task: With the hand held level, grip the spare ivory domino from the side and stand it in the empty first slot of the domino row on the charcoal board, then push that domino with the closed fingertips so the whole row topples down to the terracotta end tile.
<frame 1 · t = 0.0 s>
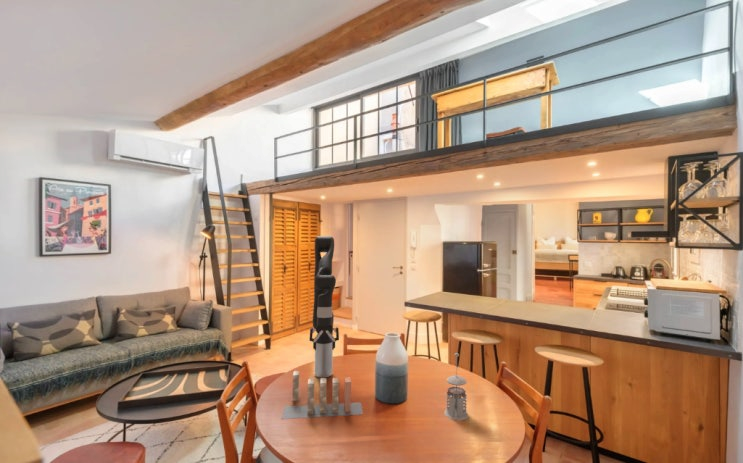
hand: (324, 349, 168), 17 cm above the table, tool pointing down, fingers open, 8 cm apart
end domino: (347, 408, 142), point 1 cm above the table, touching domino board
domino 4: (335, 409, 141), point 1 cm above the table, touching domino board
domino board: (322, 412, 141), on the table
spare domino: (295, 400, 151), on the table
domino 3: (323, 410, 141), point 1 cm above the table, touching domino board
domino 2: (310, 410, 140), point 1 cm above the table, touching domino board
french press: (456, 415, 140), on the table
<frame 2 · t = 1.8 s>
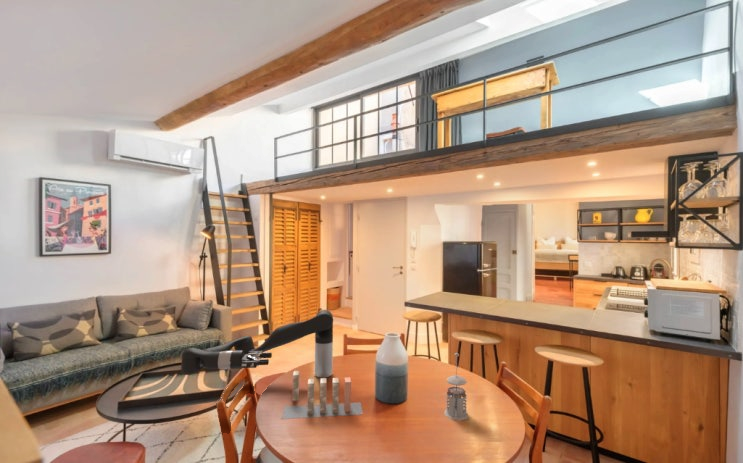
hand: (270, 358, 150), 19 cm above the table, tool horizontal, fingers open, 8 cm apart
nothing on the table moved.
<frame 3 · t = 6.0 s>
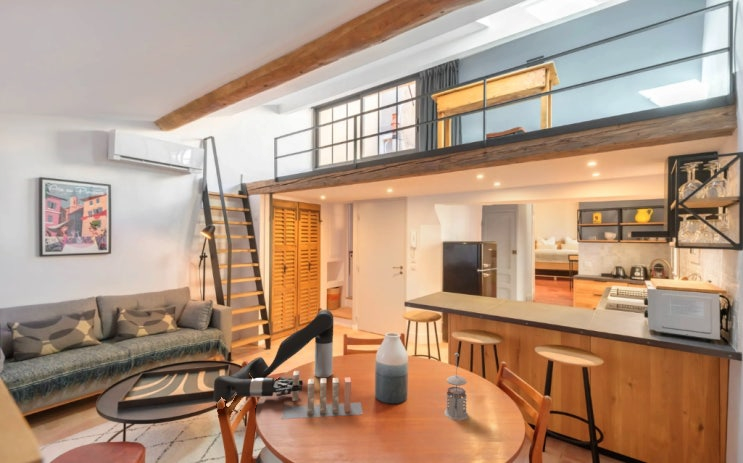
hand: (301, 385, 152), 7 cm above the table, tool horizontal, fingers closed on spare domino, 4 cm apart
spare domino: (295, 400, 151), on the table, touching gripper
everything else where it was.
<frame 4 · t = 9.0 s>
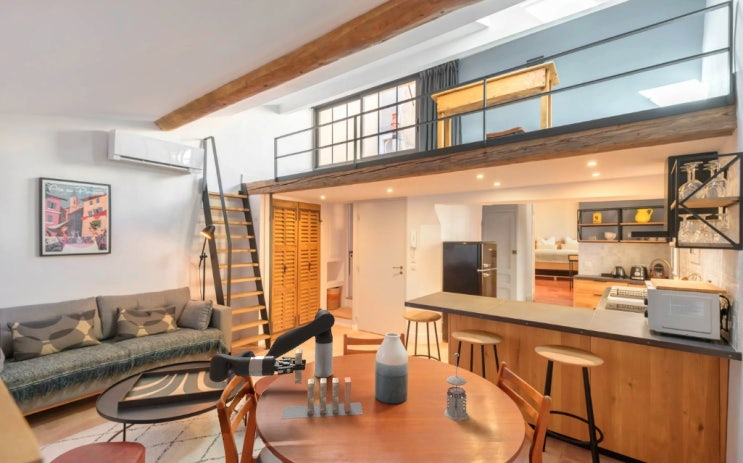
hand: (305, 364, 140), 20 cm above the table, tool horizontal, fingers closed on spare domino, 4 cm apart
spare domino: (298, 380, 140), point 13 cm above the table, touching gripper
everything else where it was.
when the fingers open (9 cm above the table, at t = 12.0 s): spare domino drops 1 cm, resting on domino board.
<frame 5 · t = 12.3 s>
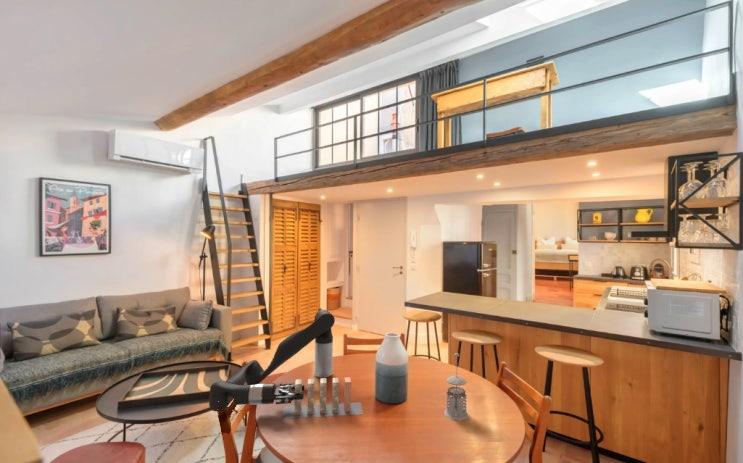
hand: (303, 391, 140), 9 cm above the table, tool horizontal, fingers open, 7 cm apart
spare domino: (298, 411, 139), point 1 cm above the table, touching domino board
everything else where it was.
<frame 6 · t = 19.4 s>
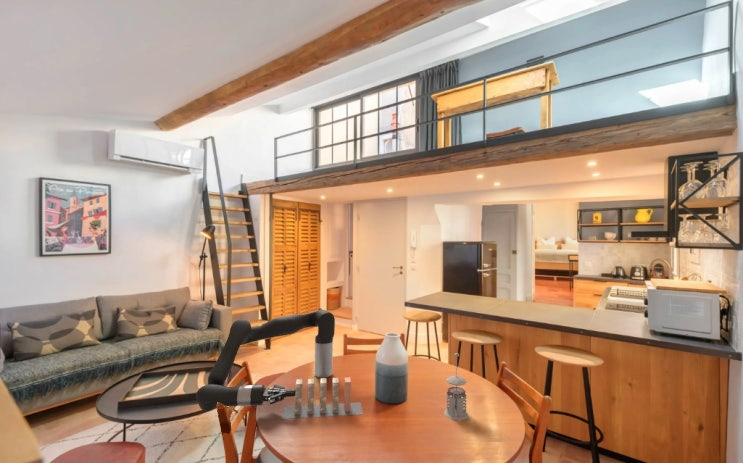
hand: (295, 392, 139), 9 cm above the table, tool horizontal, fingers closed
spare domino: (298, 411, 139), point 1 cm above the table, touching domino board, gripper
everything else where it was.
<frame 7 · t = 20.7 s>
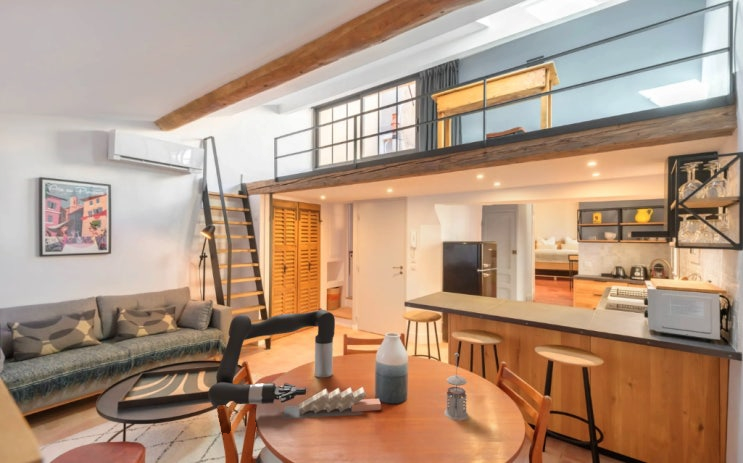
hand: (306, 391, 140), 9 cm above the table, tool horizontal, fingers closed
end domino: (351, 405, 142), point 2 cm above the table, tilted 90°, touching domino 4, domino board
domino 4: (338, 406, 142), point 2 cm above the table, tilted 62°, touching domino 3, domino board, end domino
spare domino: (301, 408, 140), point 2 cm above the table, tilted 62°
domino 3: (326, 407, 141), point 2 cm above the table, tilted 62°, touching domino 2, domino 4
domino 2: (314, 408, 140), point 2 cm above the table, tilted 62°, touching domino 3
everything else where it was.
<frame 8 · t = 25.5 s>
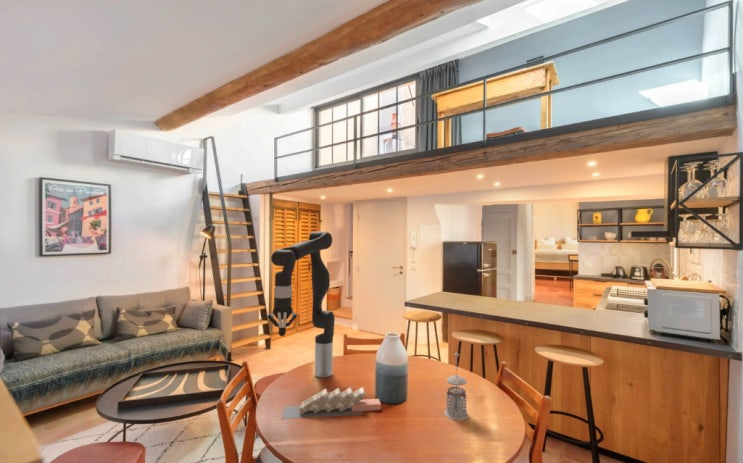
hand: (282, 335, 149), 29 cm above the table, tool pointing down, fingers closed
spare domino: (301, 408, 140), point 2 cm above the table, tilted 62°, touching domino 2, domino board
domino 3: (326, 407, 141), point 2 cm above the table, tilted 62°, touching domino 2, domino 4, domino board
domino 2: (314, 408, 140), point 2 cm above the table, tilted 62°, touching domino 3, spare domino
everything else where it was.
at the end: end domino tilted 90°; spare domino inside the target area (0.1 cm from its centre), point 2.1 cm above the table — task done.
